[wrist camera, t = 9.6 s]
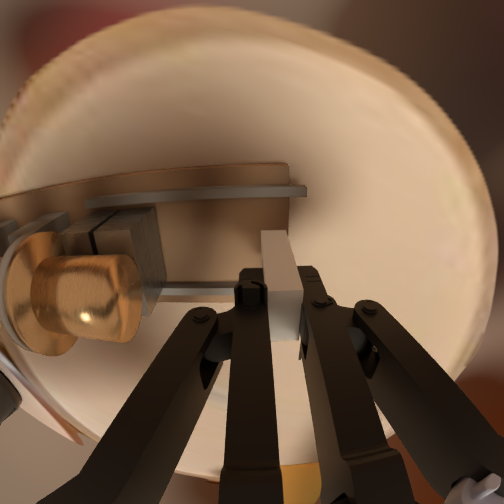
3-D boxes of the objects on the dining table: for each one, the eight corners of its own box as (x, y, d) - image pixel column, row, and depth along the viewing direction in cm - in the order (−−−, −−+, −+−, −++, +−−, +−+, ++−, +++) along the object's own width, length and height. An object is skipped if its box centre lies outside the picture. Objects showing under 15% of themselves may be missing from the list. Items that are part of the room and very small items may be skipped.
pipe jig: (21, 286, 22) (-38, 352, 12) (-4, 200, 18) (-84, 249, 7) (296, 291, 22) (325, 418, 11) (301, 163, 18) (372, 220, 7)
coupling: (104, 287, 20) (42, 378, 11) (83, 202, 17) (-15, 268, 8) (168, 289, 20) (124, 399, 11) (153, 194, 17) (65, 269, 8)
